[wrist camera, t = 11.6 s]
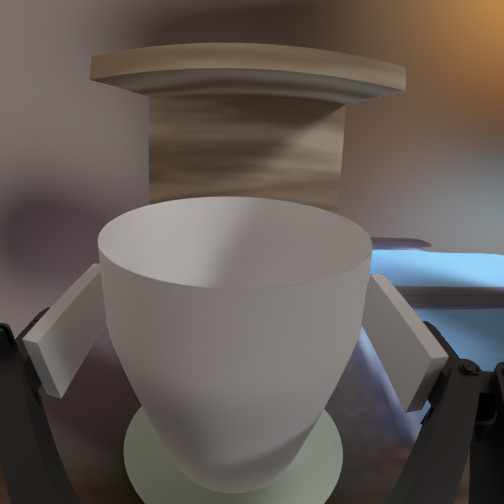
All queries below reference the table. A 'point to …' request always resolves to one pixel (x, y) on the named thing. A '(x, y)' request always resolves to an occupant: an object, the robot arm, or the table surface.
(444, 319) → the table surface
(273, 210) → the cup
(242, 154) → the shelf
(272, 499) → the mat
